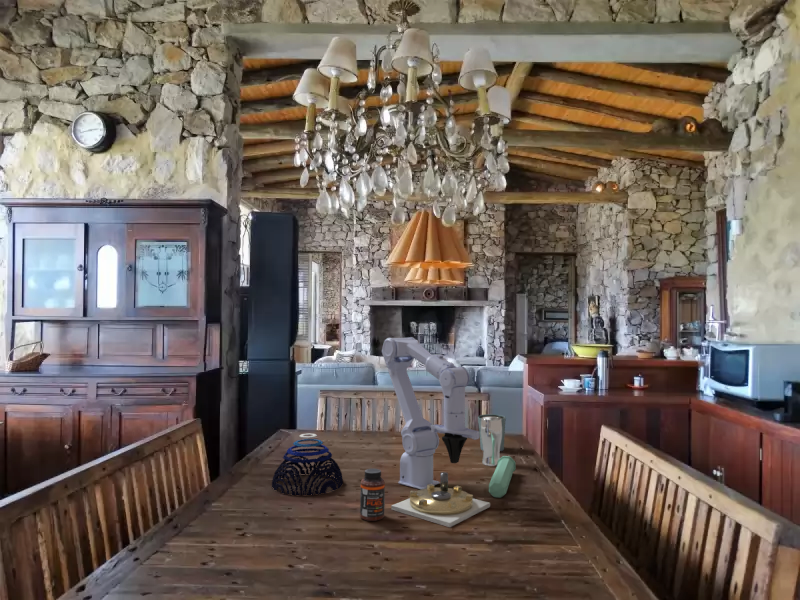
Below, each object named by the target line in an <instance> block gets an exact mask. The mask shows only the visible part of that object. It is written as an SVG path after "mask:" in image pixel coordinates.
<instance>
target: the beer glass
mask: <svg viewBox="0 0 800 600" xmlns="http://www.w3.org/2000/svg"><path fill="white" fill-rule="evenodd" d="M481 438H482V444H483V450H482V451H483V456H482V460H481V461H482V465H485V466H487V467H488V466H489V467H497V461H498V460H499V459H500V458H501V457H500V455H501V454H500V445H501V439H502V422H501V418H499V417H491V416H488V417H482V420H481Z"/></svg>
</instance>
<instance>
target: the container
mask: <svg viewBox="0 0 800 600" xmlns="http://www.w3.org/2000/svg"><path fill="white" fill-rule="evenodd" d="M516 465H517V464H516V461H515V460H514V459H513V457H511V456H509V455H508V456H507V455H502V456H501V457H500V459H499V460H498V461H497V466H495V470H494V473H493V474H492V476H491V479H490V482H488V492H489V494H490V495H491V496H492V497H494V498H503V497H504V496H505V495H506V494H507V492H508V488H509V485H510V483H511V479H512V476H513V473H514V472H515V471H516Z"/></svg>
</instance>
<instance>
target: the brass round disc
mask: <svg viewBox="0 0 800 600" xmlns="http://www.w3.org/2000/svg"><path fill="white" fill-rule="evenodd" d="M439 474H440V481H439V484H440V487H435V485H433V484H427V488H426V489H418V490H410V491H409V498H410V505H411V507H412V508H414V509H416V510H418V511H420V512H424V513H429V514H437V515H451V514H458V513H462V512H465V511H468V510H469V509H471V508H472V506H473V499H474V495H473V494H470V493H468V492H466V491H464V490H463V489H462V486H459V485H455V486H453V488H451V487H449V473H448V472H445V471H443V472H440V473H439Z"/></svg>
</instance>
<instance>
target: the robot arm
mask: <svg viewBox="0 0 800 600" xmlns="http://www.w3.org/2000/svg"><path fill="white" fill-rule="evenodd" d="M381 354H382V357H383V360H384V363H385V365H386V368H387V371H388V375H389V377H390V380H391V383H392V386H393V389H394V393H395V395H396V399H397V402H398V404H399V408H400V410H401V412H402V413H401V414H402V416H403V419H404V421H405V424H404V426H403V427H402V429H401V431H400V434H401V439H402V442H401V443H402V448H403V449H404V451H405V452H403V453H402V454H401V456H400V460H399V481H398V482H397V483H398V484H399V485H403V486H407V487H410V488H414V489H418V490H421V489H426V488H427V484H433V485H434V486H437V485H439V484H440V481H438V480H434V454H435V453H436V450H437V448H438V447H439V445H440V437H439V434H444V435H443V436H442V437H441V440H442V442H443V444H444V446H445V448H446V450H447V453H448V457H449V460H450V462H449V463H451V464H457V463H459V462H460V457H461V453H462V450H463V448H464V446H465V443H466V442H467V440H468V439H471V440H474V441H475V440H480V435H479V433H480V432H479V431H480V430H475V429H472V428H468V427H466V387H467V386H468V385H469V383H470V374H469V373H470V372H469V371H468V370H467V368H465V366H457V365H455V363H453V361H451V362H450V361H448V359H445V358H444V355H443V354H441V353H440V354H433V355H432V354H431V353H430V352H429V351H428V350H427V349H426V348H424V346H422V345H421V344H420V343H419V340H417V339H416V338H414V337H413V336H410V337H409V336H408V337H387V338H386V339H384V340H383V345H382V348H381ZM414 360H417V361H418V362H419V363H421V364H422V365H425V371H426V372H427V373H429V374H431V375H432V377H434V378H436V379H437V380H438V381H439V385H440V387H441V392H442V395H443V424H437V423H435V424H432V423H431V421H429V420H427V419H426V418H425V417H423V414H422V411H421V407H420V406H419V402H418V399H417V396H416V394H415V391H414V387H413V385H412V383H411V380H410V377H409V373H408V370H407V369H408V368H409V367H411V366H412V363H413V362H414Z"/></svg>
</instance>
